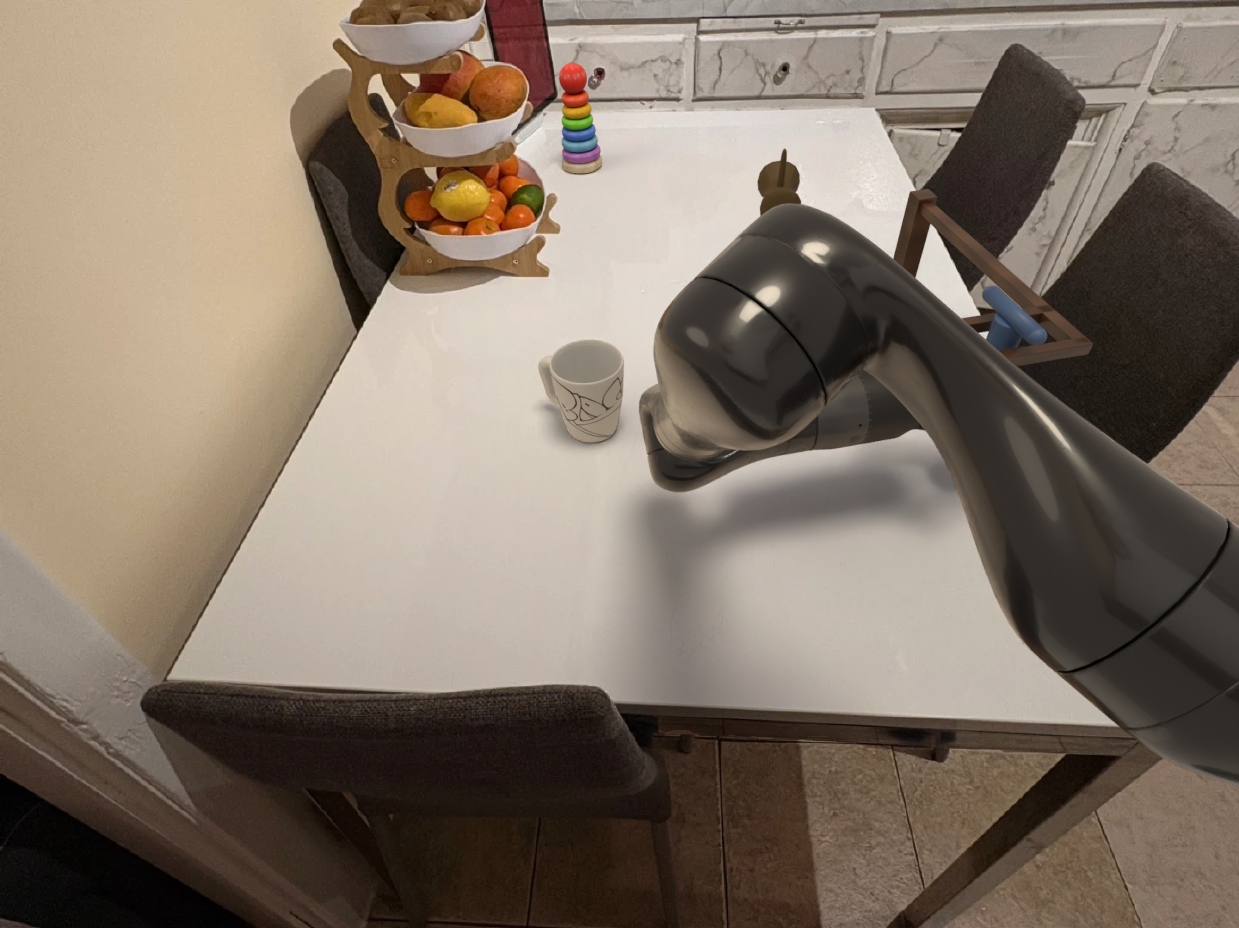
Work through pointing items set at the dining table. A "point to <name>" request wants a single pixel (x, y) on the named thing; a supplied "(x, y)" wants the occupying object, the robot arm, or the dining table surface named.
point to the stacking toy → (577, 123)
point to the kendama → (778, 184)
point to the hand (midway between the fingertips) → (1012, 379)
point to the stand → (909, 255)
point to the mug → (586, 387)
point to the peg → (1010, 322)
